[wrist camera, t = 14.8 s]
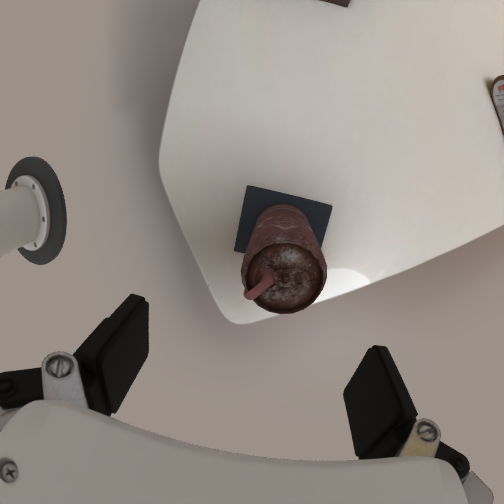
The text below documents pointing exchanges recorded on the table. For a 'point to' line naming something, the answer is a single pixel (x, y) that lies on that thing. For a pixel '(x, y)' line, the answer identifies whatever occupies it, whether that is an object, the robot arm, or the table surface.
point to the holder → (339, 2)
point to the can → (283, 261)
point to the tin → (499, 97)
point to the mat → (264, 198)
